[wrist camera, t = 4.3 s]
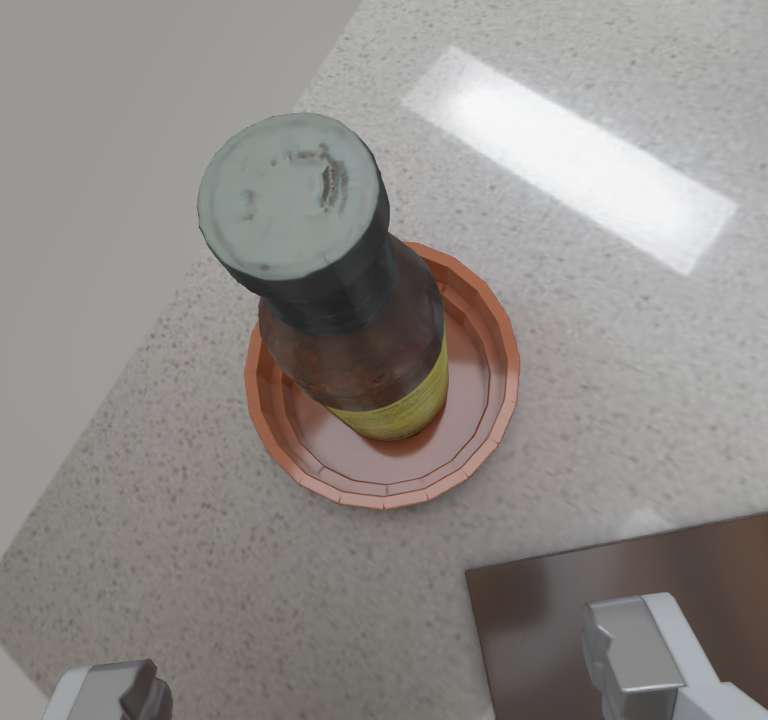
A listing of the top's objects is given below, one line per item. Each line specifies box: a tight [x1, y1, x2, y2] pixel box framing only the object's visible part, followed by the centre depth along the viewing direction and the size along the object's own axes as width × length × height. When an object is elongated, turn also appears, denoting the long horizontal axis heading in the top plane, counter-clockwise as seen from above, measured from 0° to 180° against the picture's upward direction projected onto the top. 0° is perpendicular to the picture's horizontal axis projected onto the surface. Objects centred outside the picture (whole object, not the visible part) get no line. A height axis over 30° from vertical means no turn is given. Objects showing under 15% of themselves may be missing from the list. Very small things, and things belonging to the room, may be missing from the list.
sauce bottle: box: [197, 113, 449, 441], centre depth 21 cm, size 6×6×20 cm
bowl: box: [244, 242, 520, 510], centre depth 29 cm, size 13×13×5 cm
